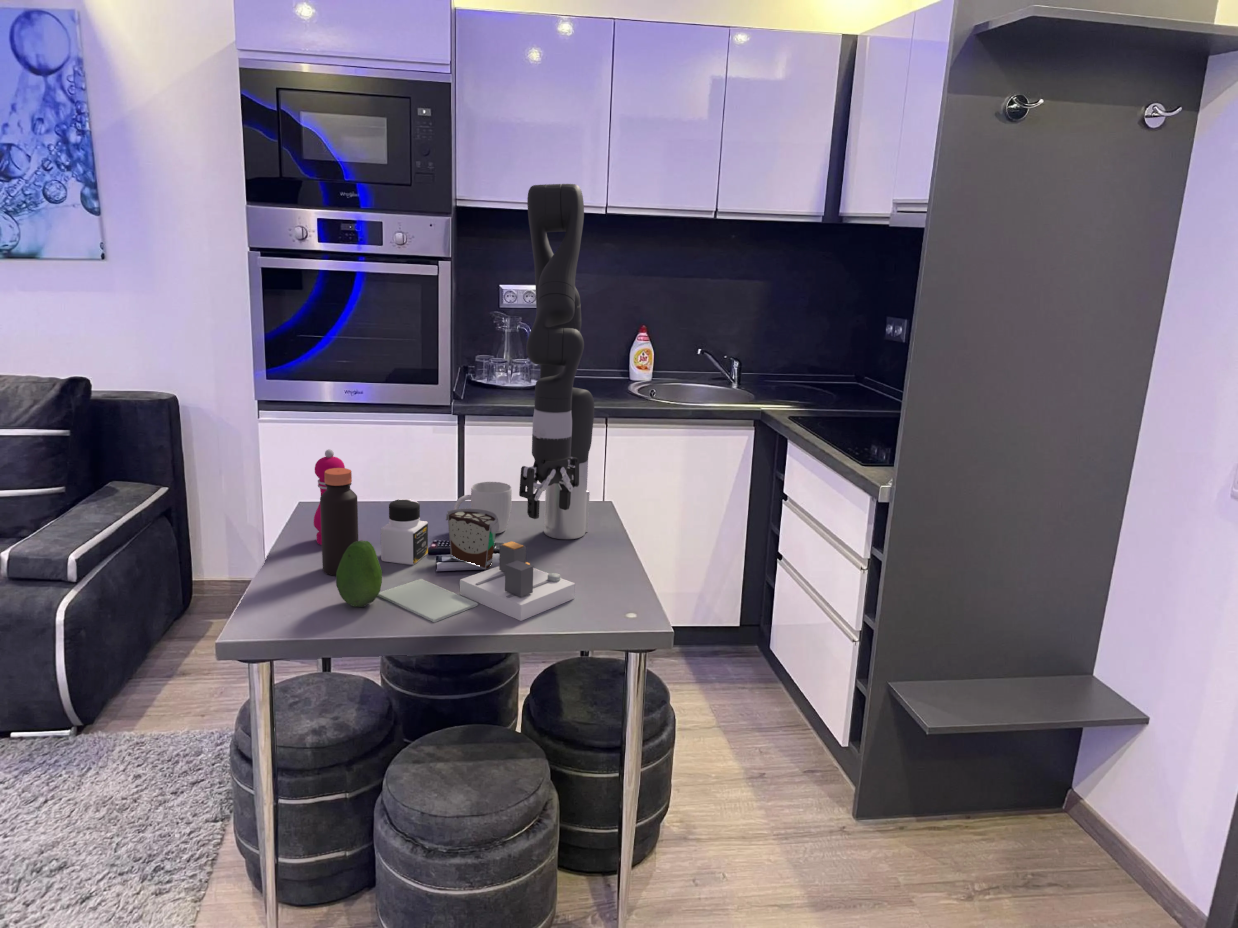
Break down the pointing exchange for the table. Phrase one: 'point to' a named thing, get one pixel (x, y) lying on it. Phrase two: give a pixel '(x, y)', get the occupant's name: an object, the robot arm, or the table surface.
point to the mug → (491, 500)
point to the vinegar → (337, 517)
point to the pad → (427, 600)
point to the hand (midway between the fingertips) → (549, 513)
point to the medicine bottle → (404, 533)
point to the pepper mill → (320, 468)
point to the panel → (492, 594)
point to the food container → (472, 535)
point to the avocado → (359, 574)
